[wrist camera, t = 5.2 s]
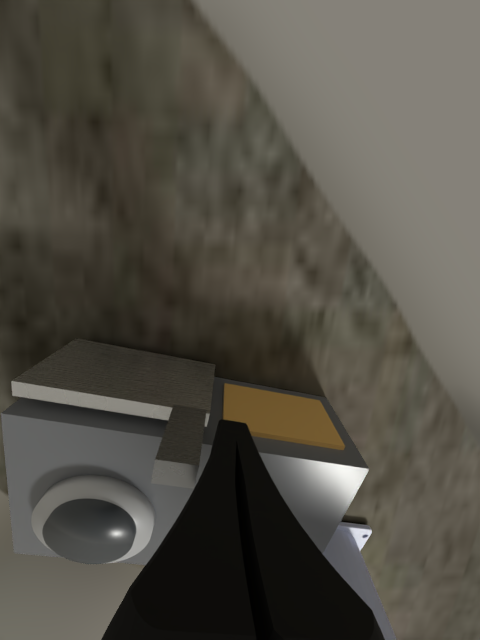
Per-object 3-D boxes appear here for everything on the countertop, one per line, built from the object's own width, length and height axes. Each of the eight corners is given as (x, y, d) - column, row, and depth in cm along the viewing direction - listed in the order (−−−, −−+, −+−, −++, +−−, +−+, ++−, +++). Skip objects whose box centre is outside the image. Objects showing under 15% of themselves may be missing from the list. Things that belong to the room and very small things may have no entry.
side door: (212, 376, 16) (198, 489, 9) (76, 351, 15) (-63, 455, 8) (216, 362, 16) (204, 466, 9) (76, 335, 15) (-70, 428, 8)
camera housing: (287, 488, 21) (313, 601, 15) (77, 460, 19) (-2, 576, 13) (327, 394, 18) (383, 483, 12) (80, 348, 16) (-23, 424, 10)
